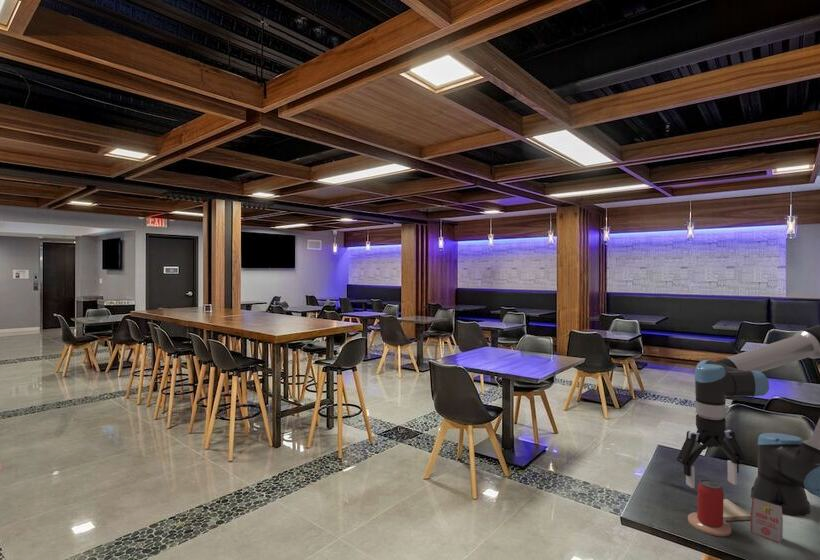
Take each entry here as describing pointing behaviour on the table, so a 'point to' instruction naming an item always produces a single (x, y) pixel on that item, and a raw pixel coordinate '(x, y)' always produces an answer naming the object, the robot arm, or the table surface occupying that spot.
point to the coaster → (714, 531)
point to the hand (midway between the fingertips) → (711, 484)
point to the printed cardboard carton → (766, 520)
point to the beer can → (710, 503)
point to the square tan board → (734, 512)
